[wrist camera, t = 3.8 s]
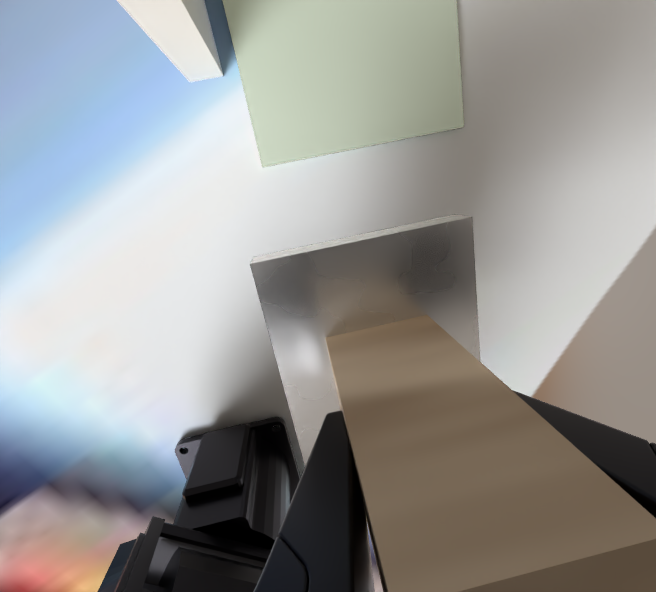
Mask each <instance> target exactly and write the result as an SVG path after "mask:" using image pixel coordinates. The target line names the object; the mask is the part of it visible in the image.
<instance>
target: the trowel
mask: <svg viewBox="0 0 656 592" xmlns="http://www.w3.org/2000/svg"><path fill="white" fill-rule="evenodd" d="M250 266H251V270H252V273H253V277H254V281H255V285H256V288H257V292H258V296H259V299H260V303H261V307H262V310H263V314H264V318H265V321H266V325H267V329H268V332H269V336H270V340H271V343H272V347H273V351H274V354H275V358H276V362H277V365H278V369H279V373H280V376H281V380H282V384H283V387H284V391H285V395H286V398H287V402H288V406H289V409H290V413H291V417H292V420H293V424H294V428H295V431H296V435H297V439H298V442H299V446H300V450H301V453H302V457H303V461H304V464H305V466H306V463H307V461H308V458H309V456H310V453H311V451H312V448H313V446H314V443H315V441H316V438H317V436H318V433H319V431H320V428H321V426H322V423H323V421H324V418H325V416H326V414H327V413H331V412H335V411H339V410H341V411H342V412H343V416H344V420H345V424H346V428H347V432H348V436H349V440H350V444H351V448H352V452H353V457H354V462H355V467H356V471H357V476H358V481H359V486H360V490H361V495H362V500H363V504H364V509H365V514H366V520H367V524H368V528H369V533H370V537H371V541H372V545H373V549H374V554H375V558H376V562H377V566H378V571H379V575H380V579H381V583H382V587H383V592H656V518H655V517H654V516H652V515H651V514H650V513H649V512H648V511H647V510H646V509H645V508H644V507H642V506H641V505H640V504H639V503H638V502H637V501H636V500H635V499H633V498H632V497H631V496H630V495H629V494H628V493H627V492H626V491H624V490H623V489H622V488H621V487H620V486H619V485H618V484H617V483H615V482H614V481H613V480H612V479H611V478H610V477H609V476H608V475H606V474H605V473H604V472H603V471H602V470H601V469H600V468H599V467H597V466H596V465H595V464H594V463H593V462H592V461H591V460H590V459H588V458H587V457H586V456H585V455H584V454H583V453H582V452H581V451H580V450H578V449H577V448H576V447H575V446H574V445H573V444H572V443H571V442H569V441H568V440H567V439H566V438H565V437H564V436H563V435H562V434H560V433H559V432H558V431H557V430H556V429H555V428H554V427H553V426H551V425H550V424H549V423H548V422H547V421H546V420H545V419H544V418H542V417H541V416H540V415H539V414H538V413H537V412H536V411H535V410H533V409H532V408H531V407H530V406H529V405H528V404H527V403H526V402H525V401H523V400H522V399H521V398H520V397H519V396H518V395H517V394H516V393H514V392H513V391H512V390H511V389H510V388H509V387H508V386H507V385H505V384H504V383H503V382H502V381H501V380H500V379H499V378H498V377H496V376H495V375H494V374H493V373H492V372H491V371H490V370H489V369H487V368H486V367H485V366H484V365H483V364H482V363H481V362H480V351H479V332H478V314H477V295H476V277H475V259H474V240H473V222H472V217H470V216H463V215H456V214H454V215H449V216H444V217H440V218H435V219H430V220H426V221H421V222H416V223H411V224H407V225H402V226H397V227H392V228H388V229H383V230H378V231H374V232H369V233H364V234H359V235H355V236H350V237H345V238H340V239H336V240H331V241H326V242H322V243H317V244H312V245H307V246H303V247H298V248H293V249H288V250H284V251H279V252H274V253H270V254H265V255H260V256H255V257H253V259H252V261H251V263H250Z"/></svg>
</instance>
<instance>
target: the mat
mask: <svg viewBox="0 0 656 592" xmlns="http://www.w3.org/2000/svg"><path fill="white" fill-rule="evenodd" d="M222 1H223V5H224V9H225V13H226V17H227V22H228V26H229V30H230V34H231V38H232V43H233V47H234V51H235V55H236V59H237V63H238V68H239V72H240V76H241V80H242V84H243V89H244V93H245V97H246V101H247V105H248V110H249V114H250V118H251V122H252V126H253V131H254V135H255V139H256V143H257V147H258V151H259V156H260V160H261V164H262V167H267V166H272V165H277V164H282V163H287V162H292V161H297V160H302V159H307V158H312V157H317V156H322V155H327V154H332V153H337V152H342V151H347V150H352V149H357V148H362V147H367V146H373V145H378V144H383V143H388V142H393V141H398V140H403V139H408V138H413V137H418V136H423V135H428V134H433V133H438V132H443V131H448V130H453V129H458V128H462V127H464V116H463V99H462V82H461V65H460V48H459V32H458V15H457V0H222Z"/></svg>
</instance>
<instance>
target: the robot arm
mask: <svg viewBox="0 0 656 592" xmlns="http://www.w3.org/2000/svg"><path fill="white" fill-rule="evenodd" d="M512 391H513V390H512ZM513 392H514V393H516V394H517V395H518V396H519V397H520V398H521V399H522V400H523V401H525V402H526V403H527V404H528V405H529V406H530V407H531V408H532V409H533V410H535V411H536V412H537V413H538V414H539V415H540V416H541V417H542V418H544V419H545V420H546V421H547V422H548V423H549V424H550V425H551V426H553V427H554V428H555V429H556V430H557V431H558V432H559V433H560V434H562V435H563V436H564V437H565V438H566V439H567V440H568V441H569V442H571V443H572V444H573V445H574V446H575V447H576V448H577V449H578V450H580V451H581V452H582V453H583V454H584V455H585V456H586V457H587V458H588V459H590V460H591V461H592V462H593V463H594V464H595V465H596V466H597V467H599V468H600V469H601V470H602V471H603V472H604V473H605V474H606V475H608V476H609V477H610V478H611V479H612V480H613V481H614V482H615V483H617V484H618V485H619V486H620V487H621V488H622V489H623V490H624V491H626V492H627V493H628V494H629V495H630V496H631V497H632V498H633V499H635V500H636V501H637V502H638V503H639V504H640V505H641V506H642V507H644V508H645V509H646V510H647V511H648V512H649V513H650V514H651V515H652V516H654V517H655V518H656V444H655V443H650V444H649V443H648V441H647V440H644V439H641V438H639V437H636V436H633V435H631V434H628V433H625V432H623V431H620V430H617V429H614V428H612V427H609V426H607V425H604V424H601V423H598V422H596V421H593V420H591V419H588V418H585V417H582V416H580V415H577V414H574V413H572V412H569V411H566V410H564V409H561V408H558V407H556V406H553V405H550V404H548V403H545V402H542V401H540V400H537V399H534V398H532V397H529V396H526V395H524V394H521V393H518V392H516V391H513ZM275 425H279V426H280V427H278V428H275V427H273V426H275ZM182 447H186V448H187V449H183V448H182ZM175 453H176V456H177V458H178V460H179V463H180V465H181V468H182V470H183V472H184V475H185V477H186V479H187V481H186V484H185V487H184V489H183V494H182V495H183V497H182V500H181V503H180V506H179V509H178V512H177V515H176V518H175V520H174V523H173V524H169V523H165V522H164V521H165V519H161V518H157V517H152V519H151V521H150V523H149V525H148V527H147V529H146V531H145V533H144V534H143V533H140V534H139V536H138V537H137V539H134V540H132V541H129V542H126V543H123V544H120V546H119V548H118V550H117V552H116V554H115V557H114V559H113V561H112V563H111V565H110V567H109V569H108V571H107V573H106V575H105V578H104V580H103V582H102V584H101V586H100V588H99V590H98V592H375V589H374V581H373V572H372V564H371V555H370V546H369V538H368V529H367V520H366V514H365V509H364V504H363V500H362V495H361V490H360V486H359V481H358V476H357V471H356V467H355V462H354V457H353V452H352V448H351V444H350V440H349V436H348V432H347V428H346V424H345V420H344V416H343V412H342V411H341V410H339V411H335V412H331V413H327V414H326V416H325V418H324V421H323V423H322V426H321V428H320V431H319V433H318V436H317V438H316V441H315V443H314V446H313V448H312V451H311V453H310V456H309V458H308V461H307V463H306V466H305V468H304V471H303V473H302V476H301V478H300V474H299V471H298V467H297V464H296V460H295V457H294V453H293V450H292V446H291V442H290V439H289V435H288V432H287V428H286V425H285V422H284V420H283V419H282V418H279V417H274V418H270V419H266V420H262V421H258V422H253V423H249V424H242V425H238V426H234V427H230V428H225V429H221V430H217V431H213V432H208V433H205V434H203V435H199V436H194V437H190V438H186V439H182V440H180V441H179V442H178V444H177V446H176V448H175Z"/></svg>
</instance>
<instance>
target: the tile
mask: <svg viewBox="0 0 656 592" xmlns="http://www.w3.org/2000/svg"><path fill="white" fill-rule="evenodd" d="M117 1H118V2H119V3H120V5H121V6H122V7H123V8H124V9H125V10H126V11H127V12H128V14H129V15H130V16H131V17H132V18H133V19H134V20H135V21H136V23H137V24H138V25H139V26H140V27H141V28H142V29H143V30H144V32H145V33H146V34H147V35H148V36H149V37H150V38H151V39H152V40H153V42H154V43H155V44H156V45H157V46H158V47H159V48H160V49H161V51H162V52H163V53H164V54H165V55H166V56H167V57H168V58H169V60H170V61H171V62H172V63H173V64H174V65H175V66H176V67H177V68H178V70H179V71H180V72H181V73H182V74H183V75H184V76H185V77H186V79H187V80H188V81H189V82H196V81H201V80H206V79H212V78H217V77H223V72H222V68H221V64H220V60H219V56H218V52H217V48H216V44H215V40H214V36H213V32H212V28H211V24H210V20H209V17H208V13H207V9H206V5H205V1H204V0H117Z"/></svg>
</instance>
